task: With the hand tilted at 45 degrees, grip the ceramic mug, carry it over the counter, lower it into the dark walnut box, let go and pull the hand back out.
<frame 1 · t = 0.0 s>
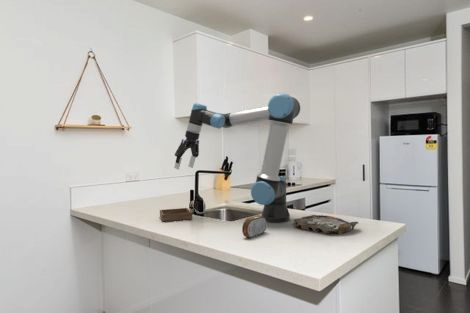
hand: (183, 168, 185), 28 cm above the worktop, tool tilted 20°, fingers open, 13 cm apart
tin: (255, 236, 145), on the worktop
ceramic mug: (198, 212, 200), on the worktop
walnut box: (175, 218, 184), on the worktop
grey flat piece: (322, 229, 156), on the worktop
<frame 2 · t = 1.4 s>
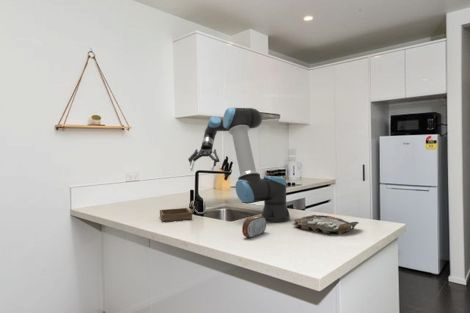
hand: (201, 169, 209), 25 cm above the worktop, tool tilted 45°, fingers open, 13 cm apart
nothing on the worktop moved.
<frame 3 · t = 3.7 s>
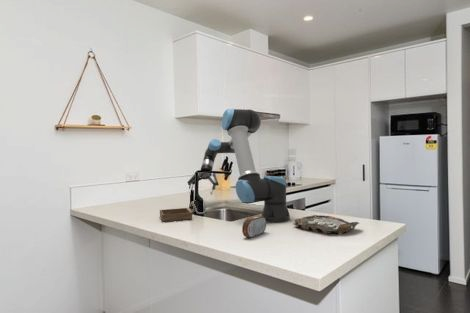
hand: (200, 193, 206), 11 cm above the worktop, tool tilted 45°, fingers open, 13 cm apart
nothing on the worktop moved.
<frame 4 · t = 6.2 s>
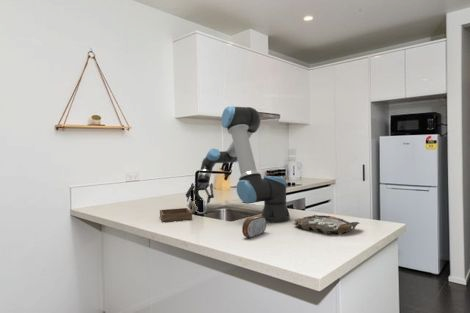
hand: (196, 206, 197), 4 cm above the worktop, tool tilted 45°, fingers closed on ceramic mug, 10 cm apart
ceramic mug: (199, 213, 199), on the worktop, touching gripper
everything else where it was.
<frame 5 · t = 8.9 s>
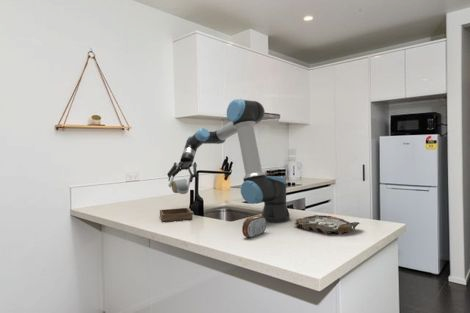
hand: (178, 186, 186), 18 cm above the worktop, tool tilted 45°, fingers closed on ceramic mug, 10 cm apart
ceramic mug: (181, 193, 188), point 13 cm above the worktop, touching gripper
everything else where it was.
when the fingers open (6 cm above the worktop, at t = 12.1 s): ceramic mug drops 2 cm, resting on walnut box.
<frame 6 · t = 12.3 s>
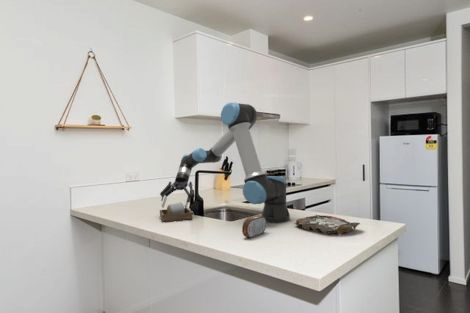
hand: (173, 206, 182), 7 cm above the worktop, tool tilted 45°, fingers open, 13 cm apart
ceramic mug: (177, 217, 183), point 1 cm above the worktop, touching walnut box
everything else where it was.
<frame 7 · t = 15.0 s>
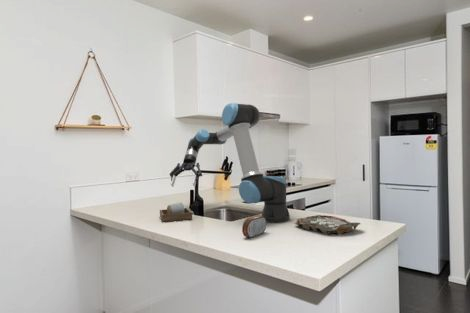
hand: (182, 185, 194), 17 cm above the worktop, tool tilted 45°, fingers open, 13 cm apart
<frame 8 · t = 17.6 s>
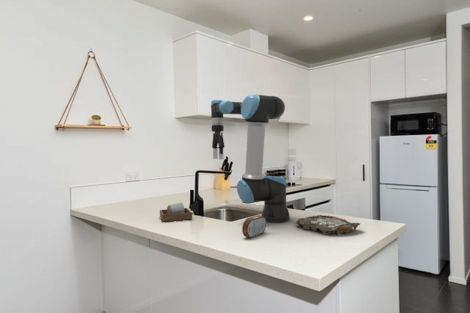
hand: (218, 159, 208), 32 cm above the worktop, tool pointing down, fingers open, 13 cm apart
at the end: ceramic mug inside the target area on the walnut box (1.6 cm from its centre), point 0.6 cm above the walnut box's base; ceramic mug tilted 1°; the gripper is holding nothing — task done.
